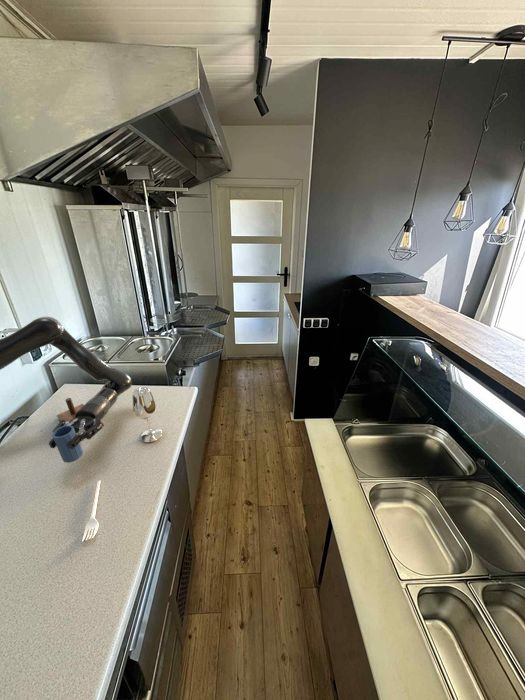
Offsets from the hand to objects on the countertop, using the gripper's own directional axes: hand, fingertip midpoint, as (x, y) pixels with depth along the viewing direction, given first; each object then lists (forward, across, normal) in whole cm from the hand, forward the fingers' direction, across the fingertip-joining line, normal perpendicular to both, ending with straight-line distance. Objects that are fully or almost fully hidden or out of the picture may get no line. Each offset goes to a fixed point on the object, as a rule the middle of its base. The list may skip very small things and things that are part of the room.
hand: (60, 446), depth 85 cm
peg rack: (-27, -16, +14) cm, 34 cm away
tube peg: (-3, 0, +6) cm, 7 cm away
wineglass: (-20, +17, +14) cm, 30 cm away
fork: (+10, +13, +14) cm, 21 cm away
